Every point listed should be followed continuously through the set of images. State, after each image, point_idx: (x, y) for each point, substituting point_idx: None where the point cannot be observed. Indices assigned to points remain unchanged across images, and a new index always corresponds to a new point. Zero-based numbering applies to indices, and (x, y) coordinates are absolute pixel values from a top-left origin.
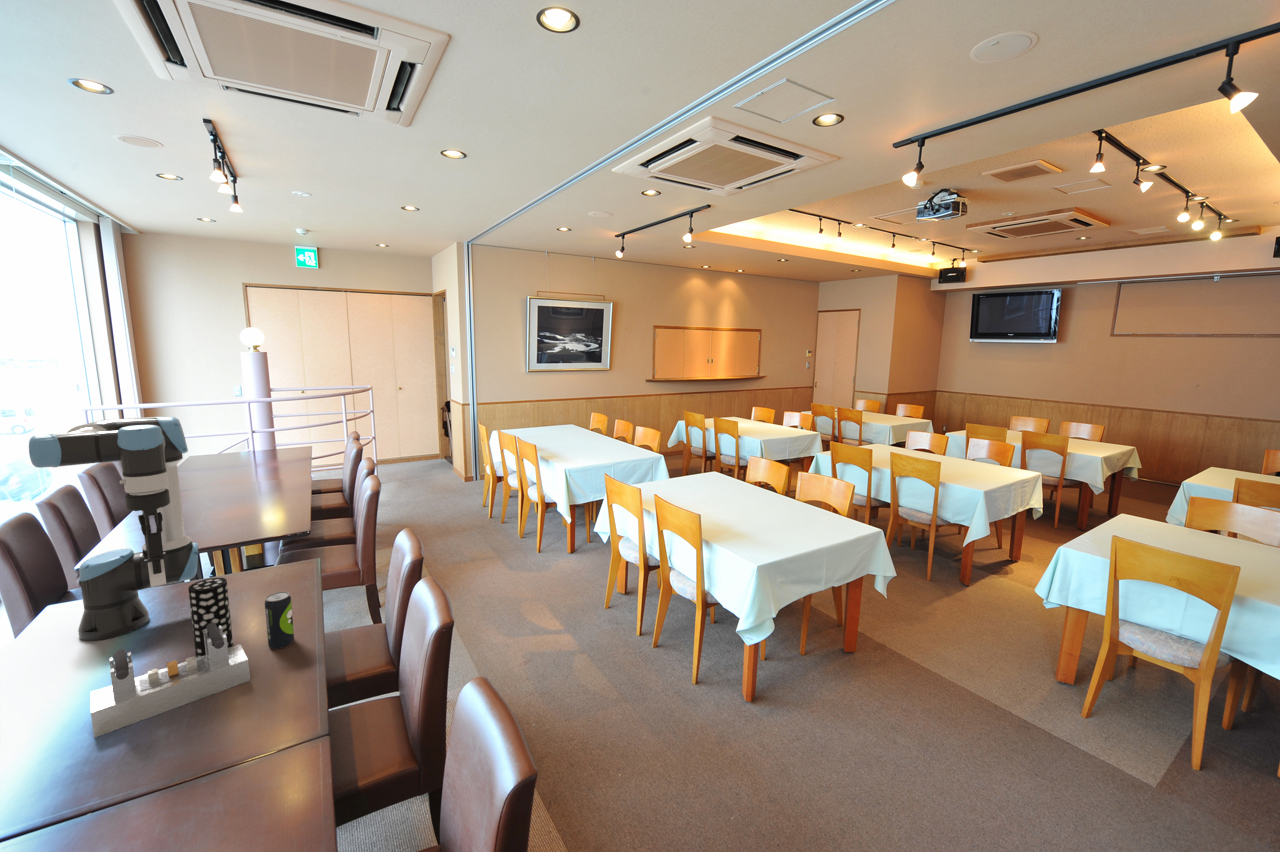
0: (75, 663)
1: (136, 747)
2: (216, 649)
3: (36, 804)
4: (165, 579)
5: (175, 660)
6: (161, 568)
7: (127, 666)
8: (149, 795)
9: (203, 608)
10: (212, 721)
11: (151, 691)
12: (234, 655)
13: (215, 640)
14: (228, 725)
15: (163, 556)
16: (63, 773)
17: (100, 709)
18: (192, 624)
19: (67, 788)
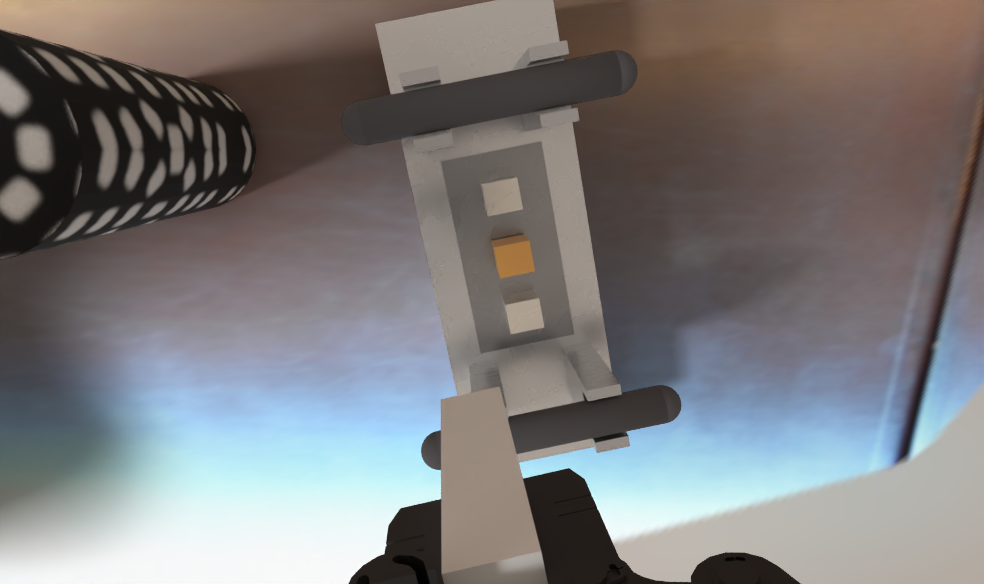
0: (63, 555)
1: (726, 299)
2: None
3: (818, 450)
4: (502, 406)
5: (495, 250)
6: (529, 494)
7: (611, 400)
8: (967, 237)
9: (152, 169)
10: (729, 120)
11: (593, 301)
12: (478, 44)
13: (600, 86)
14: (785, 74)
15: (768, 579)
16: (728, 431)
17: None
18: (144, 224)
19: (800, 408)
